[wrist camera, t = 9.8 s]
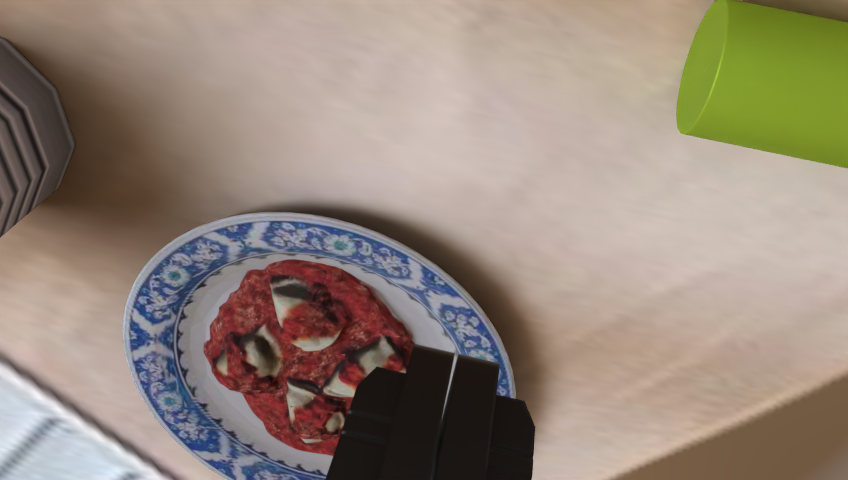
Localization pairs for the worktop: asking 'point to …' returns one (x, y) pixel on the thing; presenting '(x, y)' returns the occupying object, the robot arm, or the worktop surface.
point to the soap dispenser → (768, 82)
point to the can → (29, 137)
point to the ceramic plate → (285, 335)
